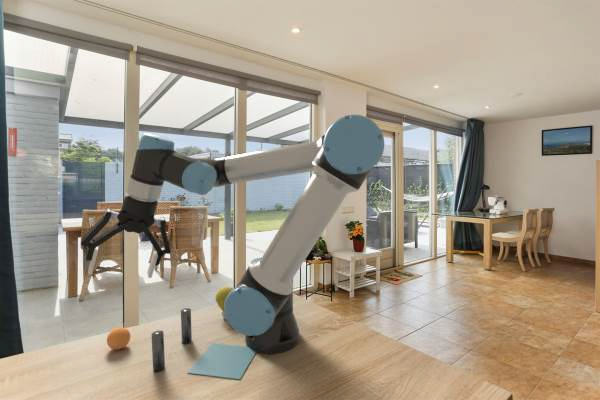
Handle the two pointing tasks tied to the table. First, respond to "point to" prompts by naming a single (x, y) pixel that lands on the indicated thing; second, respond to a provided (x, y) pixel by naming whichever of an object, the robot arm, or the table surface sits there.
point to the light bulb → (222, 298)
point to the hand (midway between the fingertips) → (121, 273)
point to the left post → (158, 351)
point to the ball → (118, 338)
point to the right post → (186, 326)
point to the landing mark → (223, 361)
